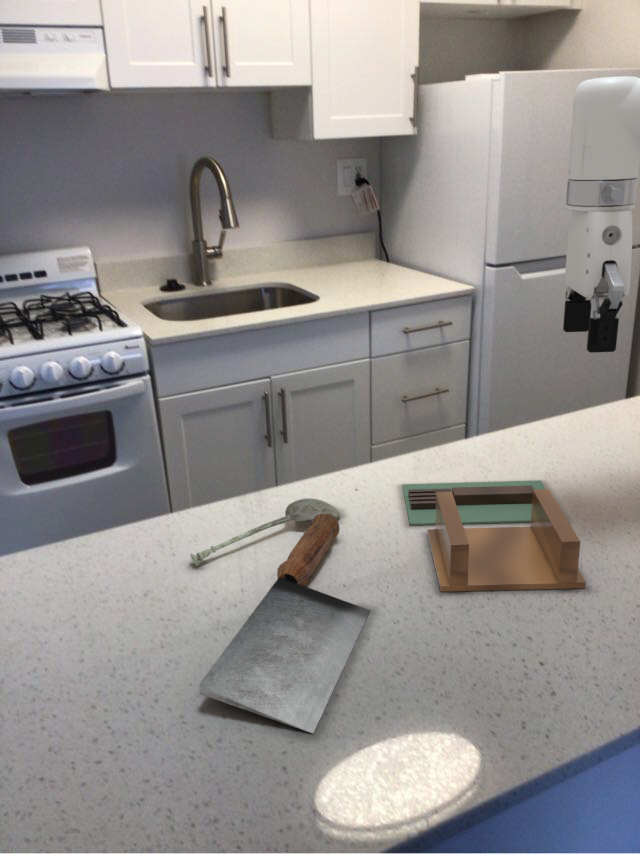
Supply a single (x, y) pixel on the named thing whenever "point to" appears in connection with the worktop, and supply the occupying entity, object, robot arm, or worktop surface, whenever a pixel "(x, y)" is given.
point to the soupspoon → (278, 522)
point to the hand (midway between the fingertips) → (587, 340)
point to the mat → (474, 512)
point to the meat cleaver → (290, 642)
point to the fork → (472, 496)
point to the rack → (505, 550)
